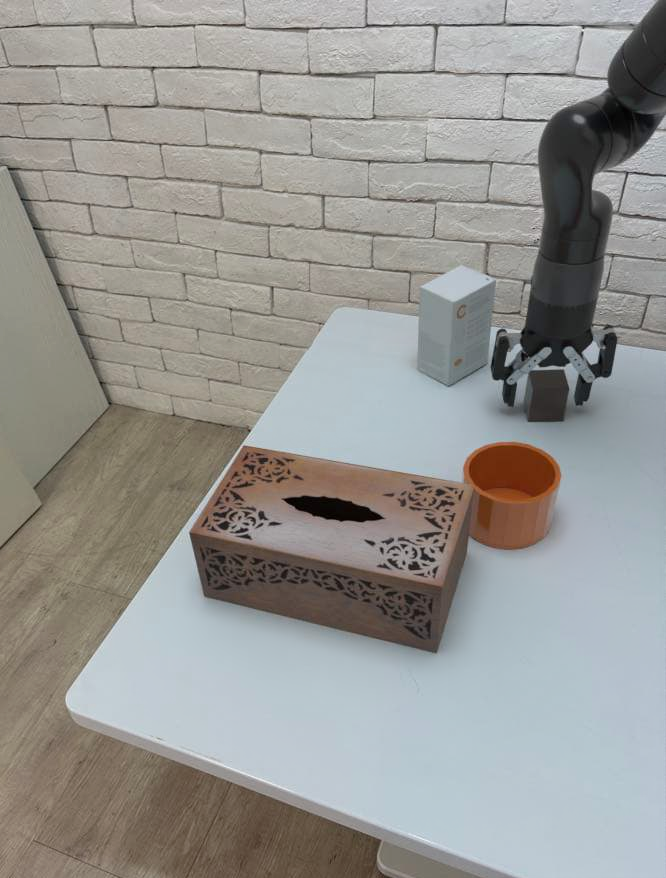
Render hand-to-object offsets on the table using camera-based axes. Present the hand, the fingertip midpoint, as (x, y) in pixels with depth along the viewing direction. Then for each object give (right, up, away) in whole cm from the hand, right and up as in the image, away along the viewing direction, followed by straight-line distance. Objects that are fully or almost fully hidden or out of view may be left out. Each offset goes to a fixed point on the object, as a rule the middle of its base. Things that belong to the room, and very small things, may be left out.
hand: (543, 402), depth 104 cm
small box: (-9, +7, +10) cm, 16 cm away
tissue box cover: (-28, -22, -15) cm, 39 cm away
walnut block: (0, -1, +1) cm, 1 cm away
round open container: (-9, -15, -12) cm, 21 cm away
